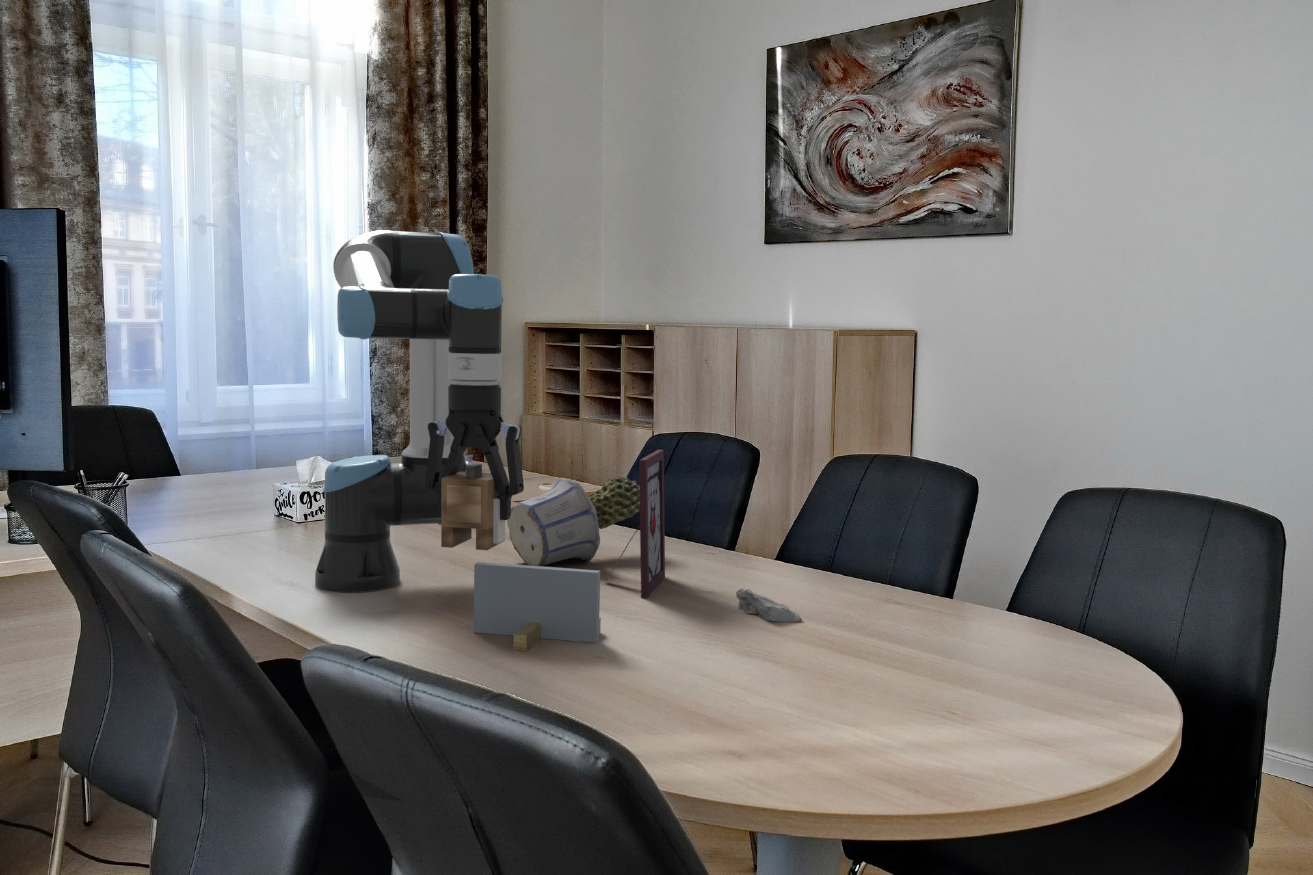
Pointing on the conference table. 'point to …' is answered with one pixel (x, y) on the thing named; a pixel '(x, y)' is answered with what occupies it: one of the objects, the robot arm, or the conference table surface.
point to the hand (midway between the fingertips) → (474, 539)
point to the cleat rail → (527, 636)
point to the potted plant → (569, 520)
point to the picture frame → (651, 522)
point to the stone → (765, 607)
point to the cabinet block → (468, 508)
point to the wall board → (537, 600)
